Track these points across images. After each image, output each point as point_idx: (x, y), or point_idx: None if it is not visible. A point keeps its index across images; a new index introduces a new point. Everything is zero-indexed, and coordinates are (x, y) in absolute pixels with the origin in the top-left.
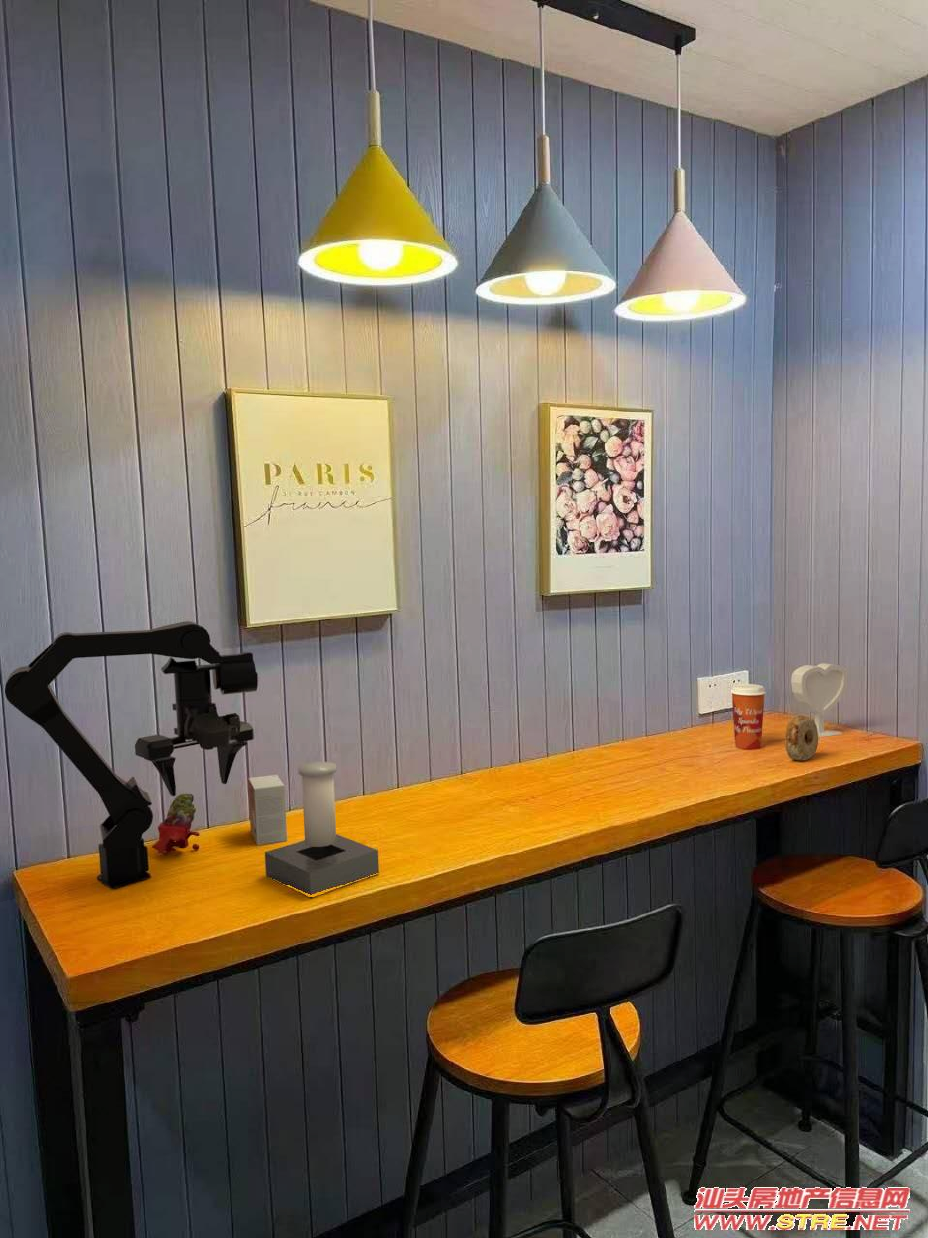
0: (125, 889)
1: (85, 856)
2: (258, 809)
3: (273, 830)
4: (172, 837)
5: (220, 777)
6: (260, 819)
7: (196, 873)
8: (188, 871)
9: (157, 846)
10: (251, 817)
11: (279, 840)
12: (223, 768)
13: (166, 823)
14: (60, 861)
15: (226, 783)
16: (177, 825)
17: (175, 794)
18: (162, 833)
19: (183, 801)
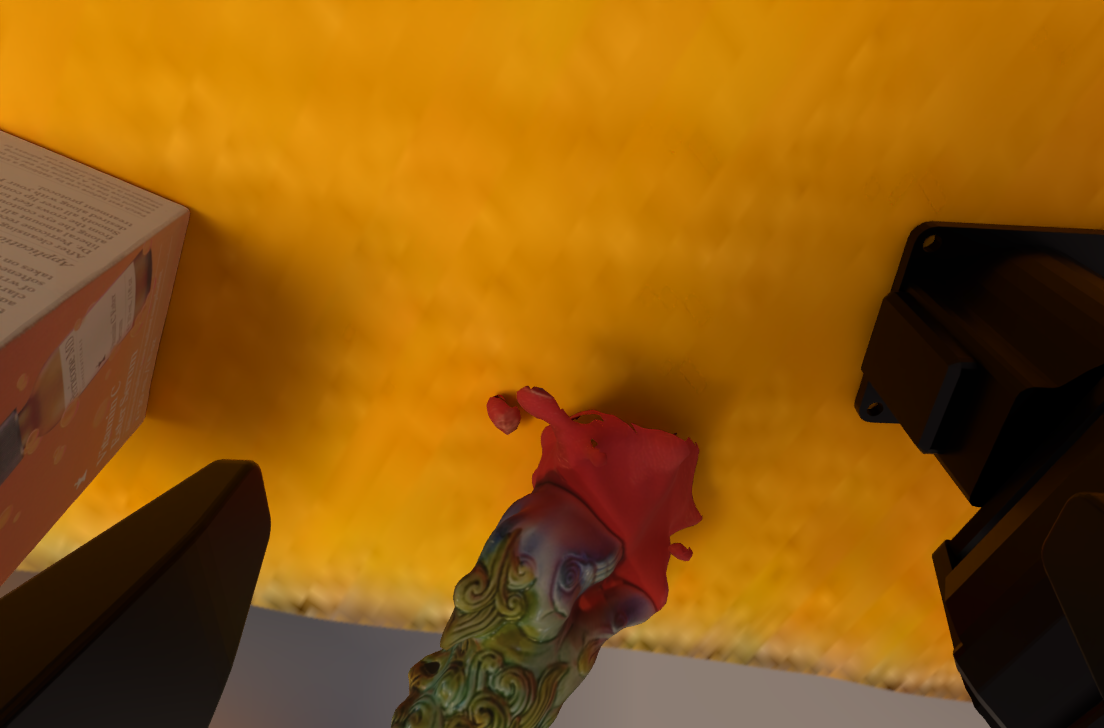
0: (1097, 185)
1: (852, 660)
2: (14, 300)
3: (18, 183)
4: (675, 451)
5: (247, 613)
6: (57, 259)
7: (711, 76)
8: (718, 151)
9: (690, 498)
10: (96, 426)
11: (27, 146)
12: (122, 714)
13: (624, 599)
14: (939, 675)
15: (219, 463)
16: (600, 534)
17: (1095, 502)
18: (663, 547)
19: (490, 704)
